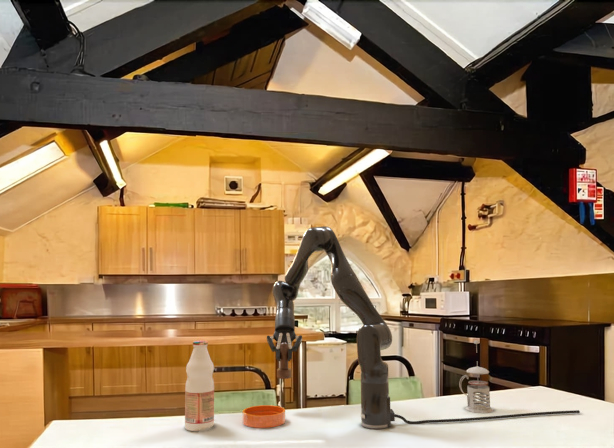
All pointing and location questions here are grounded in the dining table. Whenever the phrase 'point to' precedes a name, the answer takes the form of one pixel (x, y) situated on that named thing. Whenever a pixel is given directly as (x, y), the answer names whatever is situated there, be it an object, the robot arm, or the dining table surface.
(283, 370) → the pestle
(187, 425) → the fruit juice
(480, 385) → the french press
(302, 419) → the dining table surface
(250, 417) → the bowl
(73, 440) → the dining table surface
